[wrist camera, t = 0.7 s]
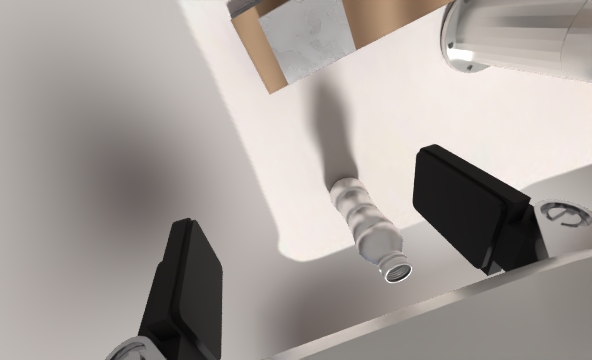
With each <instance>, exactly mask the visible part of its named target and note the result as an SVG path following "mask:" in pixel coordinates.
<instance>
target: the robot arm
mask: <svg viewBox="0 0 592 360" xmlns="http://www.w3.org/2000/svg"><path fill="white" fill-rule="evenodd" d="M441 45H442V52H443V56H444V58H445V60H446V62H447V64H448V65H449V66H450V67H451V68H453V69H454V70H456V71H460V72H464V73H474V72H478V71H481V70H484V69H486V68H488V67H490V66H496V67H502V68H508V69H513V70H519V71H525V72H531V73H536V74H542V75H548V76H554V77H559V78H565V79H572V80H578V81H584V82H592V0H456V1H455V2H454V4H453V5H452V7H451V9H450V11H449V13H448V15H447V18H446V20H445V23H444V27H443V31H442V39H441ZM530 199H531V198H530V197H529V196H527V195H525V194H523V193H522V192H520V191H518V190H516V189H515V188H513V187H511V186H509V185H508V184H506V183H504V182H502V181H500V180H499V179H497V178H495V177H493V176H492V175H490V174H488V173H486V172H485V171H483V170H481V169H479V168H478V167H476V166H474V165H472V164H471V163H469V162H467V161H465V160H464V159H462V158H460V157H458V156H456V155H455V154H453V153H451V152H449V151H448V150H446V149H444V148H442V147H441V146H439V145H437V144H433V145H430V146H427V147H423V148H421V149H420V151H419V153H417V155H416V166H415V178H414V190H413V206H414V208H415V209H416V210H417V211H418V212H419V213H420V214H421V215H422V216H423V217H424V218H425V219H426V220H427V221H428V222H429V223H430V224H431V225H432V226H433V227H434V228H435V229H436V230H437V231H438V232H439V233H440V234H441V235H442V236H443V237H444V238H445V239H447V241H448V242H449V243H450V244H452V246H453V247H454V248H456V250H458V251H459V252H460V253H461V254H462V255H463V256H464V257H465V258H466V259H467V260H468V261H469V262H470V263H471V264H472V265H473V266H474V267H476V268H478V269H481V270H482V271H483V272H484V273H485V274H486V275H487V276H489V275H491V274H494V273H497V272H499V271H501V269H503V270H504V271H505V273H502V274H499V275H497V276H494V277H491V278H488V279H485V280H482V281H479V282H477V283H474V284H471V285H468V286H465V287H463V288H460V289H457V290H454V291H451V292H448V293H446V294H442V295H440V296H437V297H434V298H432V299H428V300H426V301H423V302H420V303H417V304H414V305H412V306H409V307H406V308H403V309H401V310H398V311H395V312H392V313H389V314H387V315H384V316H381V317H378V318H375V319H373V320H370V321H367V322H364V323H361V324H359V325H356V326H353V327H350V328H347V329H345V330H342V331H339V332H336V333H334V334H331V335H328V336H326V337H323V338H320V339H317V340H314V341H312V342H309V343H306V344H303V345H301V346H298V347H296V348H292V349H290V350H287V351H284V352H282V353H279V354H276V355H273V356H271V357H268V358H266V359H263V360H592V211H590V210H588V209H587V208H585V207H583V206H581V205H579V204H575V203H572V202H569V201H564V200H557V199H548V200H542V201H540V202H538V203H536V204H535V206H534V207H533V206H532V205H530V204H529V202H530ZM222 273H223V272H222V266H221V263H220V261H219V260H218V258H217V256H216V254H215V253H214V251H213V249H212V247H211V246H210V244H209V242H208V240H207V238H206V236H205V235H204V233H203V231H202V229H201V228H200V226H199V224H198V222H197V221H196V220H191V219H190V218H186V219H183V220H179V221H176V222H174V223H173V224H172V228H171V231H170V235H169V238H168V242H167V246H166V249H165V253H164V257H163V261H162V262H160V263H159V264H158V267H157V270H156V273H155V276H154V280H153V284H152V287H151V291H150V294H149V297H148V301H147V304H146V308H145V312H144V315H143V318H142V322H141V325H140V329H139V332H138V336H136V337H133V338H130V339H128V340H126V341H124V342H123V343H121V344H120V345H119V346H117V347H116V348H115V349H114V350H113V351H112V352H111V353H110V354H109V355H108V356H107V357H106V359H105V360H220V359H221V336H222V335H221V334H222V333H221V332H222V275H223V274H222Z"/></svg>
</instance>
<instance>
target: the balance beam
mask: <svg viewBox="0 0 592 360" xmlns="http://www.w3.org/2000/svg"><path fill="white" fill-rule="evenodd" d="M287 1H289V0H264V1H262V2H260V3H259V4H257V5H255V6H254V7H252V8H250V9H249V10H247V11H245V12H243V13H242V14H240V15H238V16H237V17H235V18H233V19H231V22H232V24H233V26H234V27H235V29H236V31H237V33H238V35H239V37H240V39H241V41H242V43H243V45H244V47H245V48H246V50H247V52H248V54H249V56H250V58H251V60H252V62H253V64H254V66H255V67H256V69H257V71H258V73H259V75H260V77H261V79H262V81H263V83H264V85H265V86H266V88H267V90H268V92H269V94H272V93H274V92H276V91H278V90H279V89H281V88H283V87H285V86H287V85H288V82H287V80H286V78H285V76H284V74H283V72H282V70H281V68H280V65H279V63H278V61H277V59H276V57H275V55H274V53H273V50H272V48H271V46H270V44H269V42H268V40H267V38H266V36H265V33H264V31H263V29H262V27H261V25H260V23H259V21H258V19H259V17H261V16H263V15H264V14H266V13H268V12H270V11H271V10H273V9H275V8H277V7H278V6H280V5H282V4H284V3H285V2H287ZM452 1H454V0H342V3H343V7H344V10H345V13H346V17H347V20H348V24H349V27H350V31H351V34H352V38H353V41H354V45H355V48H356V50H358V49H360V48H362V47H364V46H366V45H368V44H370V43H372V42H374V41H376V40H378V39H379V38H381V37H383V36H385V35H387V34H389V33H391V32H393V31H395V30H397V29H399V28H401V27H403V26H405V25H407V24H409V23H411V22H413V21H415V20H417V19H419V18H421V17H423V16H425V15H427V14H429V13H430V12H432V11H434V10H436V9H438V8H440V7H442V6H444V5H446V4H448V3H450V2H452Z"/></svg>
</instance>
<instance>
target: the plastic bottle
mask: <svg viewBox="0 0 592 360" xmlns="http://www.w3.org/2000/svg"><path fill="white" fill-rule="evenodd" d="M330 198H331V202H332V204H333V206H334V207H335V208H336V209H337V210H338V211H339V212H340V213H341V215H342V216H343V218H344V219H345V220H346V222H347V224H348V226H349V228H350V230H351V232H352V235H353V238H354V241H355V244H356V247H357V249H358V251H359V254H360V255H361V256H362V257H363V258H364V259H365V260H367V261H369V262H371V263H373V264H375V265H378V269H379V271H380V273H382V275H383V277H384V279H385V280H386V281H387V282H389V283H396V282H399V281H402V280H404V279H405V278H407V276H409V275H410V273H411V271H412V267H411V265H410V263H409V262H408V260H407V257H406V256H405V254H403V253H402V247H403V239H402V236H401V232H400V231H399V229H398V228H397V227H396V226H395V225H394V224H393V223H392V222H391V221H389V220H388V219H387V218H386V217H385V216H384V215H383V214H382V213H381V212H380V211H379V209H378V208H377V207H376V206H375V205H374V203H373V202H372V200H371V198H370V197H369V195H368V192H367V190H366V188H365V186H364V184H363V183H362V182H360V181H359V180H358V179H356V178H352V177H347V178H343V179H340V180H339V181H337V182H336V183H335V184H334V185H333V187H332V189H331V192H330Z"/></svg>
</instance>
